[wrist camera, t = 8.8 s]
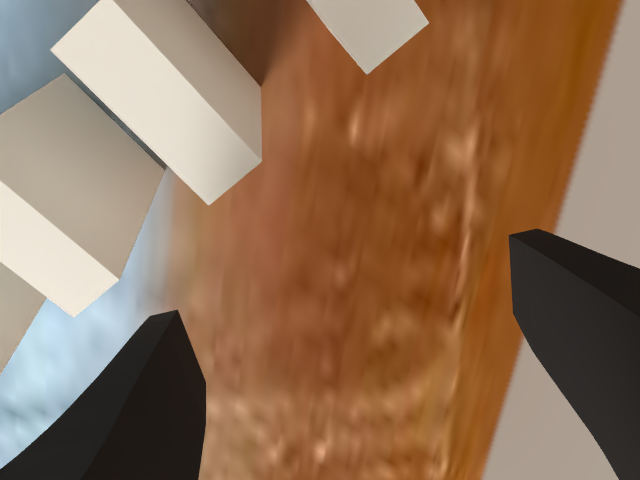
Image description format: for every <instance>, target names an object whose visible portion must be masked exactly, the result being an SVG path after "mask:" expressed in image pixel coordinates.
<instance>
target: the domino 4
mask: <svg viewBox="0 0 640 480" xmlns="http://www.w3.org/2000/svg"><path fill="white" fill-rule="evenodd" d="M306 1H307V2H308V3H309V5H310V6H311V7H312V9H313V10H314V11H315V13H316V14H317V15H318V17H319V18H320V19H321V20H322V22H323V23H324V24H325V26H326V27H327V28H328V30H329V31H330V32H331V33H332V34H333V36H334V37H335V38H336V39H337V40H338V41H339V43H340V44H341V45H342V46H343V47H344V48H345V50H346V51H347V52H348V53H349V54H350V56H351V57H352V58H353V59H354V60H355V61H356V63H357V64H358V65H359V66H360V67H361V69H362V70H363V71H364V72H365V73H366V74H368V73H369V72H371V71H372V70H373V69H374V68H375V67H377V66H378V65H379V64H380V63H381V62H383V61H384V60H385V59H386V58H388V57H389V56H390V55H391V54H392V53H394V52H395V51H396V50H397V49H398V48H400V47H401V46H402V45H403V44H404V43H406V42H407V41H408V40H409V39H410V38H412V37H413V36H414V35H415V34H416V33H418V32H419V31H420V30H421V29H423V28H424V27H425V26H426V25H427V24H429V22H428V20H427V19H426V17H425V16H424V14H423V13H422V11H421V10H420V8H419V7H418V5H417V4H416V2H415V1H414V0H306Z"/></svg>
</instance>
